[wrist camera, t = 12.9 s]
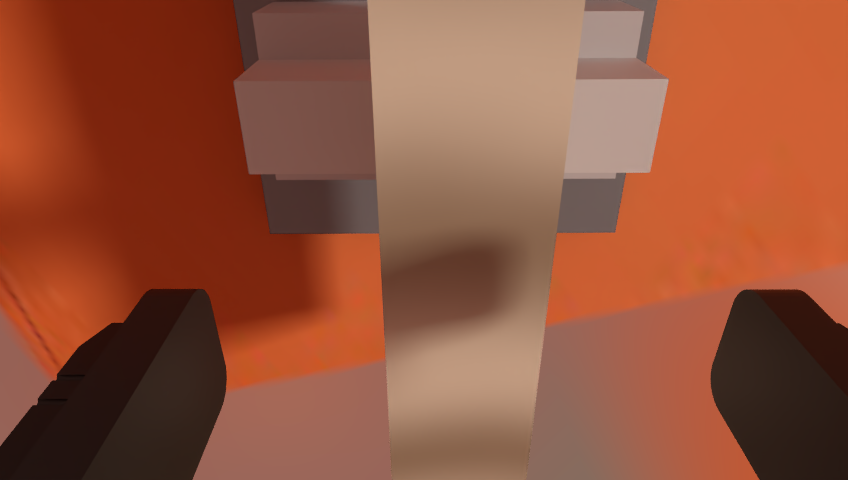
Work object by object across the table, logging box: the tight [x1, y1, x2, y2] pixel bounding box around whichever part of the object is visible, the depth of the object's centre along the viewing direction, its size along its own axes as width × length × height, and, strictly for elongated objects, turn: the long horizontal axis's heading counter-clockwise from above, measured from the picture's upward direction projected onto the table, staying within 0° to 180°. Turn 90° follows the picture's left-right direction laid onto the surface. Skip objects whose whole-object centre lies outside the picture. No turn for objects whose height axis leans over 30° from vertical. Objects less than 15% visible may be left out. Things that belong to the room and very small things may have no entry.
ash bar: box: [367, 0, 585, 480], centre depth 15 cm, size 20×4×7 cm, turn 0°
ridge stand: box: [233, 0, 669, 234], centre depth 21 cm, size 14×16×8 cm
